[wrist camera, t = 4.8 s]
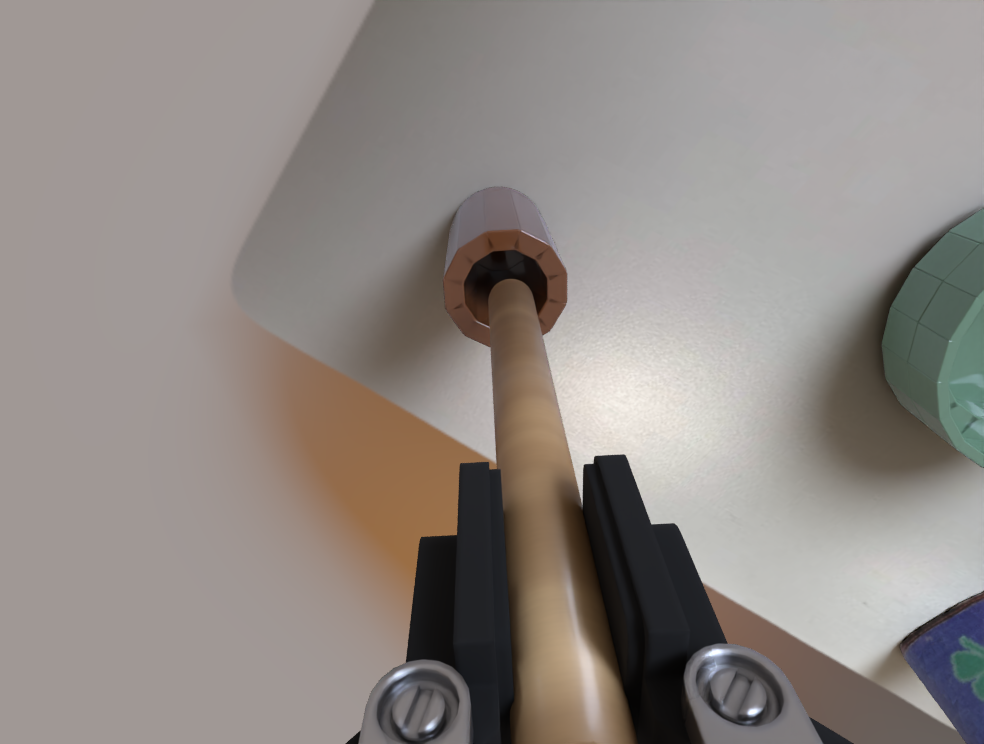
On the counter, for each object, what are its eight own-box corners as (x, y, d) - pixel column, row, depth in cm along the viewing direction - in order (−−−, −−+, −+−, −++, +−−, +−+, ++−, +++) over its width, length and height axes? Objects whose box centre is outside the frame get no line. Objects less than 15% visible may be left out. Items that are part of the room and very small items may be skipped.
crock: (447, 189, 32) (438, 233, 24) (543, 183, 32) (567, 226, 24) (454, 281, 34) (449, 351, 26) (544, 276, 34) (567, 344, 26)
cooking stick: (486, 273, 23) (514, 820, 7) (531, 271, 23) (667, 812, 7) (489, 315, 23) (519, 900, 7) (532, 313, 23) (657, 892, 7)
